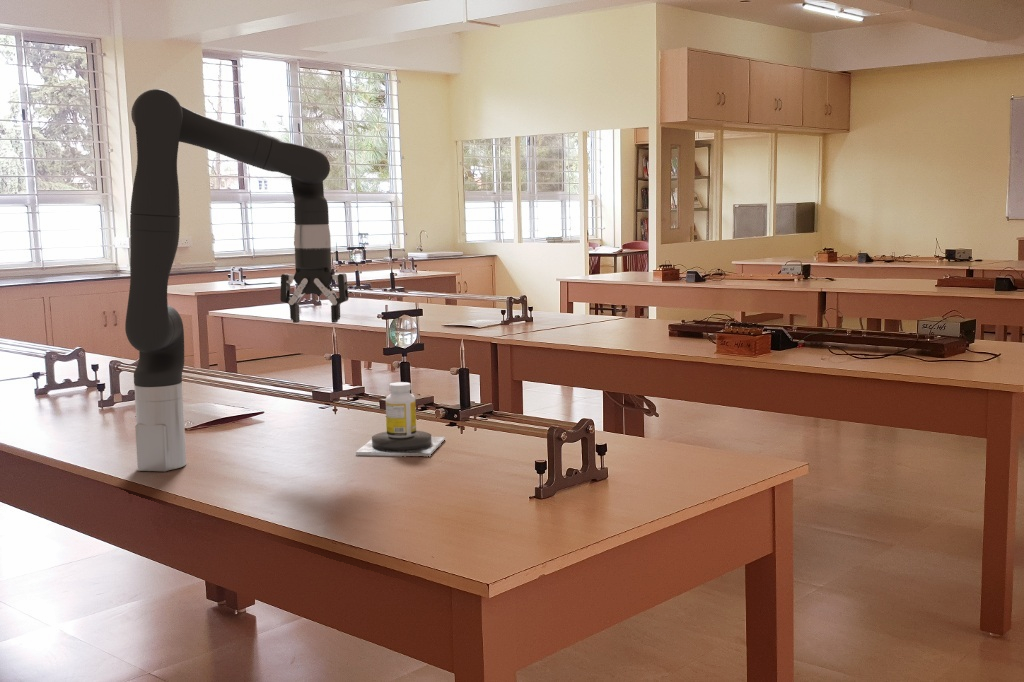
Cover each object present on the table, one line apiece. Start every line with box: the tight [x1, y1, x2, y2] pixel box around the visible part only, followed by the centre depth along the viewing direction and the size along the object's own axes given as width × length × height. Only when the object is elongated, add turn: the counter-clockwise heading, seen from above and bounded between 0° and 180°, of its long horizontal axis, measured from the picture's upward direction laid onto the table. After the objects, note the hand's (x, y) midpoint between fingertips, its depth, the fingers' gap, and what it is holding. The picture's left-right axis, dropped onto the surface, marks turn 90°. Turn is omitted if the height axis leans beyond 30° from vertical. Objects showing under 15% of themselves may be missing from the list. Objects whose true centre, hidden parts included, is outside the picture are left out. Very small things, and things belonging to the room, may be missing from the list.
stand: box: [355, 430, 446, 458], centre depth 219 cm, size 16×16×2 cm
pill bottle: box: [385, 381, 417, 438], centre depth 218 cm, size 6×6×12 cm
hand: (315, 322), depth 213 cm, fingers open, 8 cm apart
